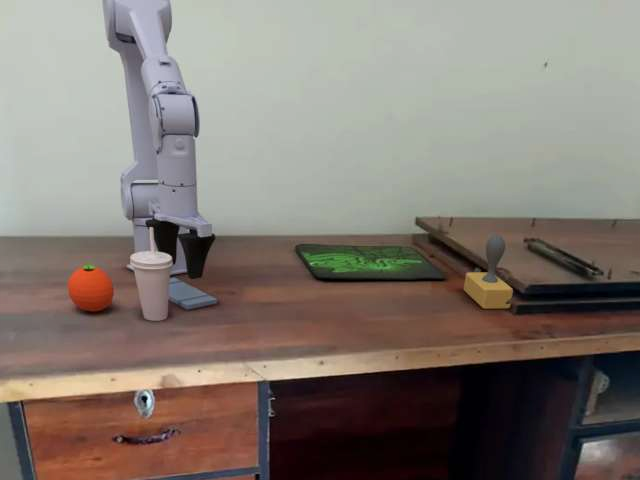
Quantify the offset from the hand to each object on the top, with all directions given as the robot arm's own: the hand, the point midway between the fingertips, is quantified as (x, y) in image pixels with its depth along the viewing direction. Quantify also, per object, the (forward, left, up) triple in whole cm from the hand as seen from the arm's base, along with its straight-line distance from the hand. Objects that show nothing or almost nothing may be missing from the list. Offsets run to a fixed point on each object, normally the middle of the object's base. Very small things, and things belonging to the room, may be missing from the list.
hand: (182, 271), depth 125 cm
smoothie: (+5, 0, -7) cm, 9 cm away
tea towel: (-4, -7, -7) cm, 10 cm away
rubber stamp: (-51, +24, -7) cm, 57 cm away
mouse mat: (-46, -3, -7) cm, 47 cm away
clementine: (+12, -8, -7) cm, 16 cm away
